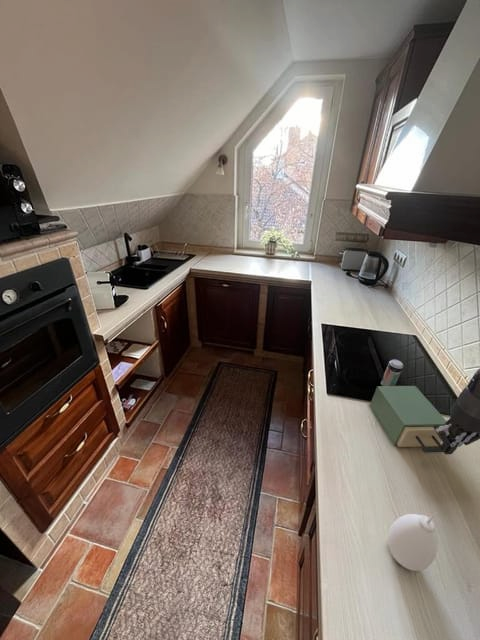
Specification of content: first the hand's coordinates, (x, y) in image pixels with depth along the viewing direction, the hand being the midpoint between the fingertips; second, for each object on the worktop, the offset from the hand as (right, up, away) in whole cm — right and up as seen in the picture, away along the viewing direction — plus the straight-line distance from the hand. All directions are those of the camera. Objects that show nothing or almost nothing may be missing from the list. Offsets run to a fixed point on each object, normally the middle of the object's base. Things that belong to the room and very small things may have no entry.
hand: (445, 451), depth 69 cm
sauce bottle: (-20, -17, -12) cm, 29 cm away
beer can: (+4, +9, +34) cm, 36 cm away
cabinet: (-1, 0, +18) cm, 18 cm away
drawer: (-1, -1, +14) cm, 14 cm away
